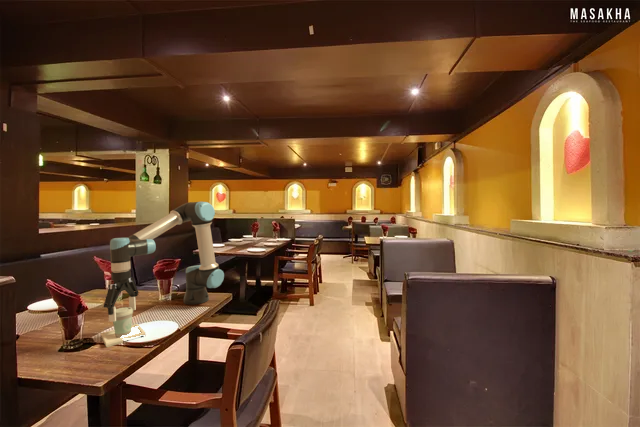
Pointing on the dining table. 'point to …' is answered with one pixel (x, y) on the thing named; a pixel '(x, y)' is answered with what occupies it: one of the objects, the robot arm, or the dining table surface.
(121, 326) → the coffee cup
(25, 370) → the dining table surface
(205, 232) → the robot arm
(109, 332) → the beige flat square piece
